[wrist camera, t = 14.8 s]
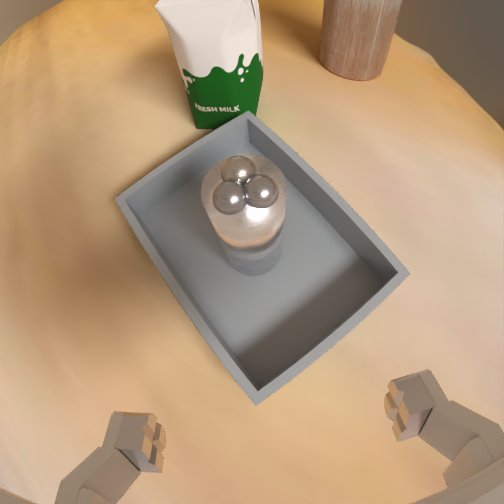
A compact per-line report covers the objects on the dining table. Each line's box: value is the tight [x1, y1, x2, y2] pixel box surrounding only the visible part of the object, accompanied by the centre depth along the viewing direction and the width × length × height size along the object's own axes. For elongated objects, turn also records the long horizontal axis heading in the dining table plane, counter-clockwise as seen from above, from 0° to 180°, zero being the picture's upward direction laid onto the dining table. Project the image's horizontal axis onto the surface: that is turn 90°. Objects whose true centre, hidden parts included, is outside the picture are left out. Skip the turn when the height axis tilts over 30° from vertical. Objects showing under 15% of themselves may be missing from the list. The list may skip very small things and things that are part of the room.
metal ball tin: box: [201, 154, 287, 276], centre depth 23 cm, size 5×5×12 cm
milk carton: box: [155, 0, 263, 129], centre depth 27 cm, size 9×9×20 cm
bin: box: [115, 111, 410, 406], centre depth 28 cm, size 22×16×5 cm
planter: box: [319, 0, 402, 81], centre depth 28 cm, size 10×10×23 cm
